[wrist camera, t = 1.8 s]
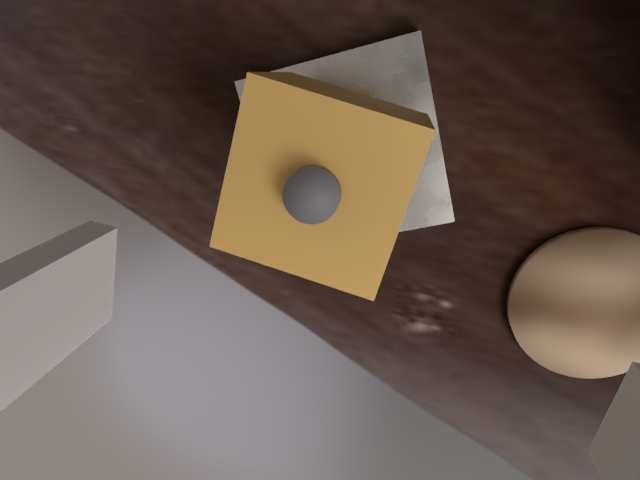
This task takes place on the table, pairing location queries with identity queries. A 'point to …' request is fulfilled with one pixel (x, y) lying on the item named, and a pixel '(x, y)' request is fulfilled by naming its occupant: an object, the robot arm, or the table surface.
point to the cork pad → (580, 303)
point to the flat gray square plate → (399, 88)
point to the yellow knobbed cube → (319, 180)
